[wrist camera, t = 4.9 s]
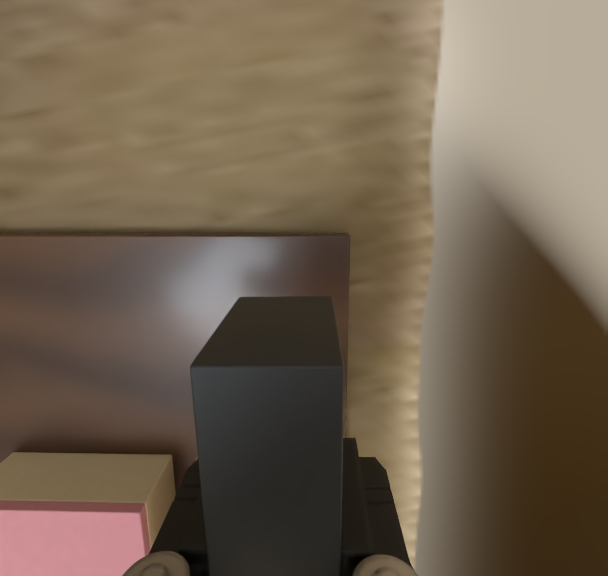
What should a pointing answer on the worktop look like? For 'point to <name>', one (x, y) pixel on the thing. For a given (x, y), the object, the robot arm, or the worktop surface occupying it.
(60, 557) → the cake
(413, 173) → the worktop surface
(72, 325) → the cake board
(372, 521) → the robot arm
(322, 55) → the worktop surface
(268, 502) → the knife
